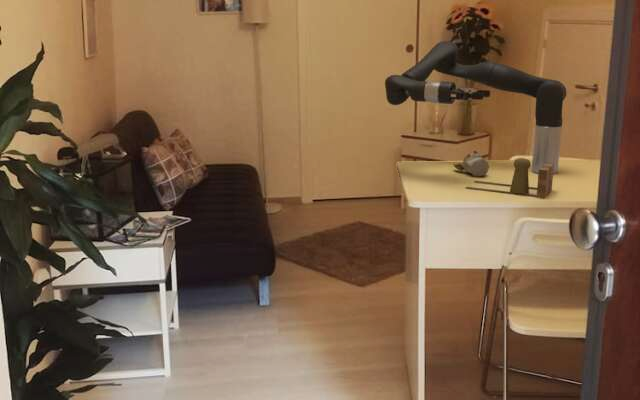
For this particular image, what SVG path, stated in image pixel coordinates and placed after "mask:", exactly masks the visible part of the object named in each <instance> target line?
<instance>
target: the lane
mask: <svg viewBox="0 0 640 400" xmlns="http://www.w3.org/2000/svg"><path fill="white" fill-rule="evenodd" d="M553 171H554V164H553V163H546V164H545V165H543V166H542V167H541V168H540V169H539V173H537V175H538V176H537V187H533V186H529V190H535V191H536V194H531V193H528V194H519V193H513V192H510V191H507V190H499V189H491V188H482V187H474V186H466V187H465V189H467V190H476V191H484V192H490V193H491V192H492V193H501V194H507V195H516V196H517V195H518V196H526V197H533V198H538V197H540V199H545V198H546V197H547V196H548V195H550V194H551V192H552V190H553V189H552V188H553V182H554V181H553V179H554V174H553ZM473 183H476V184H477V183H478V184H483V185H484V184H485V185H492V186H493V185H494V186H502V187H509V188H511V184H507V183H501V182H500V183H499V182H489V181H481V180H474V181H473Z"/></svg>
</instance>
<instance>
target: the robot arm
mask: <svg viewBox="0 0 640 400" xmlns="http://www.w3.org/2000/svg"><path fill="white" fill-rule="evenodd" d="M458 56H459V48H458V45H457V44H456V43H454V42H453V41H449V40H442V41H439V42H437V43H436V44H435V45H434V46H433V47H432V48H431V50H429V51H428V52H427V54H425V55H424V56H423V58H421V60H419V61H418V62H417V63H415V64H414V65H413V66H411V67H410V68H409V69H407V70H406V71H404V72H403V73H401V75H400V74H392V75H389V76H387V78H386V79H385V80H384V85H385V86H384V87H385V95H386V100H387V102H388V103H389V104H390V105H392V106H399V105H402V104H403V103H405V102H406V101H407V100H408V99H409V97H410V99H411V100H412V101H414V102H422V103H423V102H424V103H425V102H426V103H431V104H440V105H441V104H443V105H445V104H446V105H452V104H454V103H455V101H456V100H457V101H470V100H480V101H481V100H483V99H484V98H489V97H490V96H491V90H488V89H486V90H485V89H480V88H472V87H462V86H461V87H458V88H457V86H456V83H455V82H453V81H440V80H439V81H438V80H437V81H436V80H433V81H432V80H431V81H427V79H428V78H429V77H430V76H431V74H432V73H433V71H436V72H438V73H441V74H443V75H449V76H453V77H457V78H461V79H465V80H468V81H472V82H475V83H478V84H480V85H481V84H482V85H484V86H486V87H489V88H493V89H495V90H499V91H502V92H503V91H504V92H510V93H514V94H515V93H517V94H523V95H526V96H529V97H532V98H533V99H535V110H534V111H535V112H534V115H535V116H534V117H535V118H534V119H535V125H534V127H535V128H534V137H533V150H532V151H533V152H532V162H531V172H533V173H536V174H539V169H540V168H541V167H542V166H543V165H545V164H546V163H553V164H554V171H553V175H555V174H558V171H559V162H560V151H561V142H562V141H561V138H562V129H563V128H562V127H563V103H564V100H565V99H566V97H567V88H566V86H565V84H563V83H562V82H561V81H559V80H556V79H550V78H546V77H541V76H537V75H532V74H529V73H527V72H526V71H525V72H524V71H523V70H520V69H517V68H514V67H512V66H509V65H506V64H503V63H501V62H496V61H493V60H492V61H491V60H490V61H484V62H480V63H477V64H472V65H467V64H462V63H458V62H457V60H458Z"/></svg>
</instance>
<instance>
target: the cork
mask: <svg viewBox="0 0 640 400" xmlns="http://www.w3.org/2000/svg"><path fill="white" fill-rule="evenodd" d="M530 167H531V161H530V160H529V159H527V158H525V157H524V158H522V157H521V158H520V157H519V158H515V159H514V161H513V168H514V171H513V176H512V179H511V184H510V185H511V187H509V188H510V189H509V192H513V193H519V194H530V189H529V187H530V186H529V185H530V184H529V183H530V182H529V169H530Z"/></svg>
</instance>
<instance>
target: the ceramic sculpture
mask: <svg viewBox="0 0 640 400" xmlns="http://www.w3.org/2000/svg"><path fill="white" fill-rule="evenodd" d="M453 167H454V168H455V169H457V170H458V171H461V172H462V171H463V172H464V171H465V172H466V173H468V174H472V176H474V177H478V178H479V177H484V176H486V175H487V173H488V172H489V170H490V164H489V161H488V160H487V159H485V158H484V157H482V155H481V153H480V152H478V151H477V150H476V151H475V150H474V151H473V152H471V153H468V154H466V155H465V157H464V158H463V160H462V162H459V163H453Z"/></svg>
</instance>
